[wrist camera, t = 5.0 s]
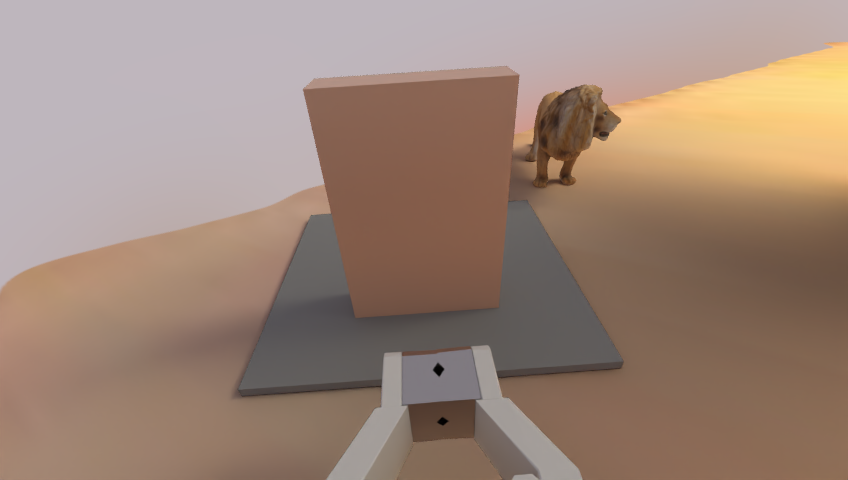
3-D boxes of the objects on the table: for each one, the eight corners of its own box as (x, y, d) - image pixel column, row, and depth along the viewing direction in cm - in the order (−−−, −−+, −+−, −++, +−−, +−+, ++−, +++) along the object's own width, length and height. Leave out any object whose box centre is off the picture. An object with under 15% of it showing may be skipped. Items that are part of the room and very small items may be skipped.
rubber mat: (526, 205, 30) (527, 200, 30) (620, 367, 17) (623, 361, 17) (312, 220, 30) (310, 215, 30) (241, 395, 17) (237, 389, 17)
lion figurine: (607, 204, 30) (637, 89, 25) (542, 206, 30) (559, 93, 25) (555, 143, 42) (569, 57, 37) (509, 145, 42) (516, 60, 37)
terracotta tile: (490, 282, 22) (505, 65, 15) (498, 307, 20) (519, 74, 13) (359, 291, 22) (314, 78, 15) (355, 318, 20) (303, 89, 13)
